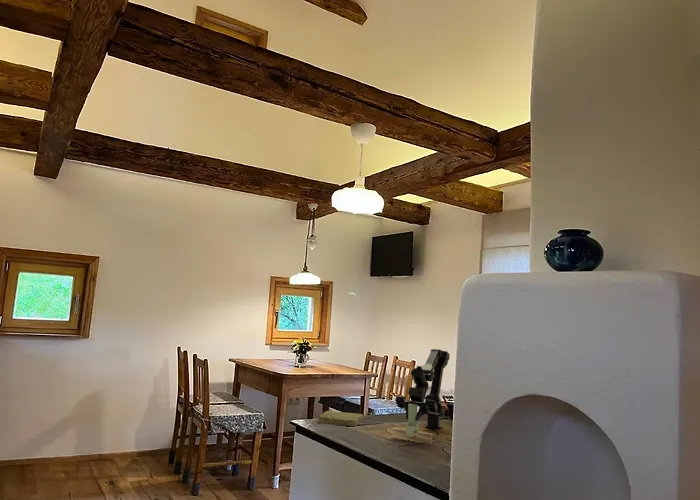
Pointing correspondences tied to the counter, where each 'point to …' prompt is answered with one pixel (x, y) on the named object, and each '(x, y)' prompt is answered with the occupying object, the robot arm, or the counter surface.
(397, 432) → the birch slotted plate
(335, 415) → the decorative tile
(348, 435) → the counter surface
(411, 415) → the green joystick knob
